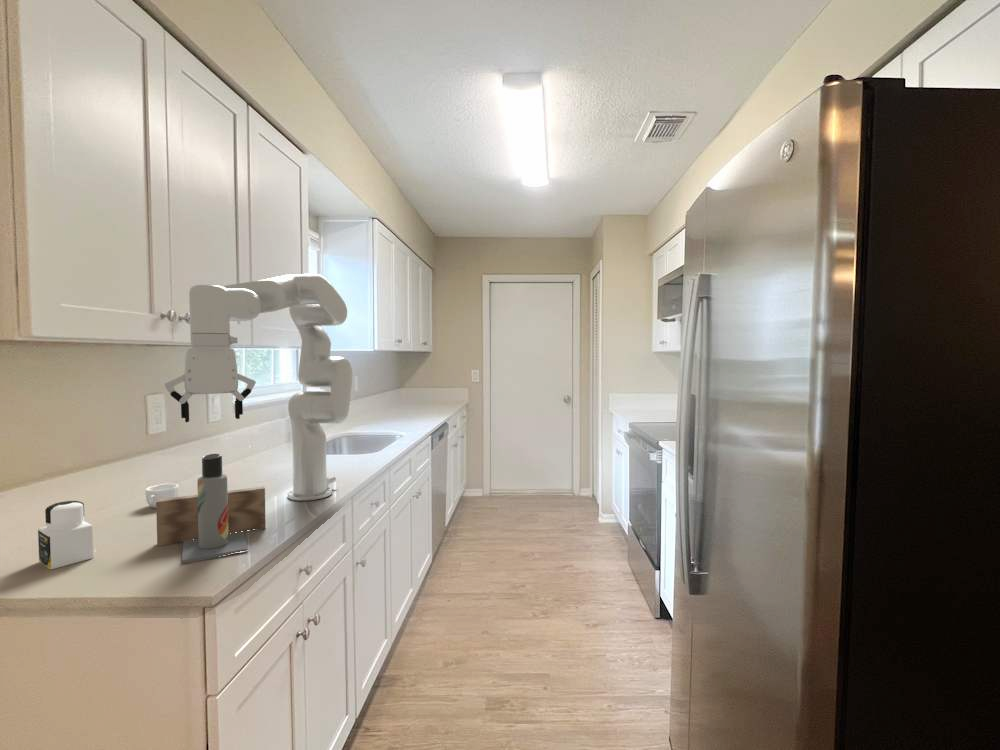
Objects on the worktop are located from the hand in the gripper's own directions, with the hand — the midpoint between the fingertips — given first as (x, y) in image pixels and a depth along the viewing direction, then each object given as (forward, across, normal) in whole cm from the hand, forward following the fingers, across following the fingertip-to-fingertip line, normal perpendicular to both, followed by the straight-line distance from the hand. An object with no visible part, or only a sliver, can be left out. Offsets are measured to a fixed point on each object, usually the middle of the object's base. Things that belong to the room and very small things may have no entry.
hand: (212, 419), depth 110 cm
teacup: (+29, +12, -40) cm, 51 cm away
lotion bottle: (+28, 0, +1) cm, 28 cm away
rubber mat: (+28, 0, +2) cm, 28 cm away
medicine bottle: (+28, +27, -7) cm, 40 cm away
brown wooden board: (+28, 0, -7) cm, 29 cm away
